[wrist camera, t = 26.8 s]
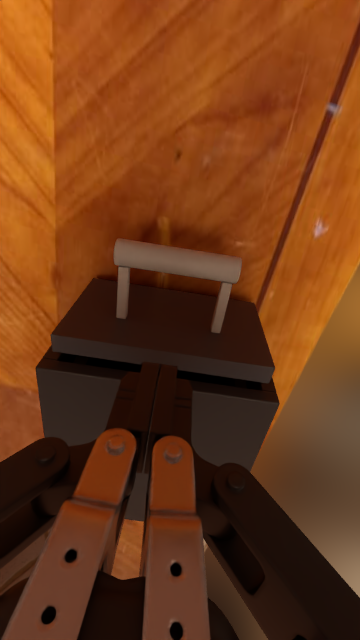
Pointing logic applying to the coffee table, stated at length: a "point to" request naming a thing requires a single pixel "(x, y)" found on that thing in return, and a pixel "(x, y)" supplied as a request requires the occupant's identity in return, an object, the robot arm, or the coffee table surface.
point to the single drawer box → (207, 414)
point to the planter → (21, 564)
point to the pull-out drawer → (168, 320)
